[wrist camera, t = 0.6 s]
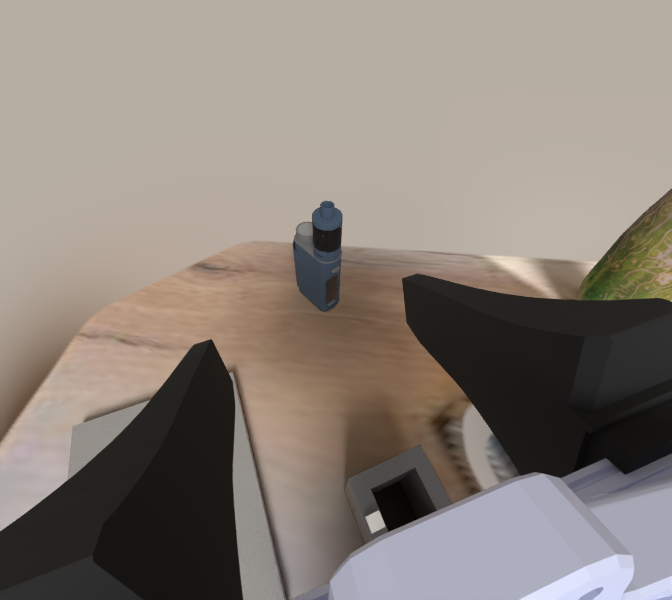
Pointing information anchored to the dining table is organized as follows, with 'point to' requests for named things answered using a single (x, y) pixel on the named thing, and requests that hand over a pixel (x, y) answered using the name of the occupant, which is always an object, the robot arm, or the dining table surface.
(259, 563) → the shaft plate
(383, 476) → the hollow square box
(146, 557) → the robot arm
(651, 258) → the vegetable
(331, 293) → the vaping device
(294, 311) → the dining table surface
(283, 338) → the dining table surface
